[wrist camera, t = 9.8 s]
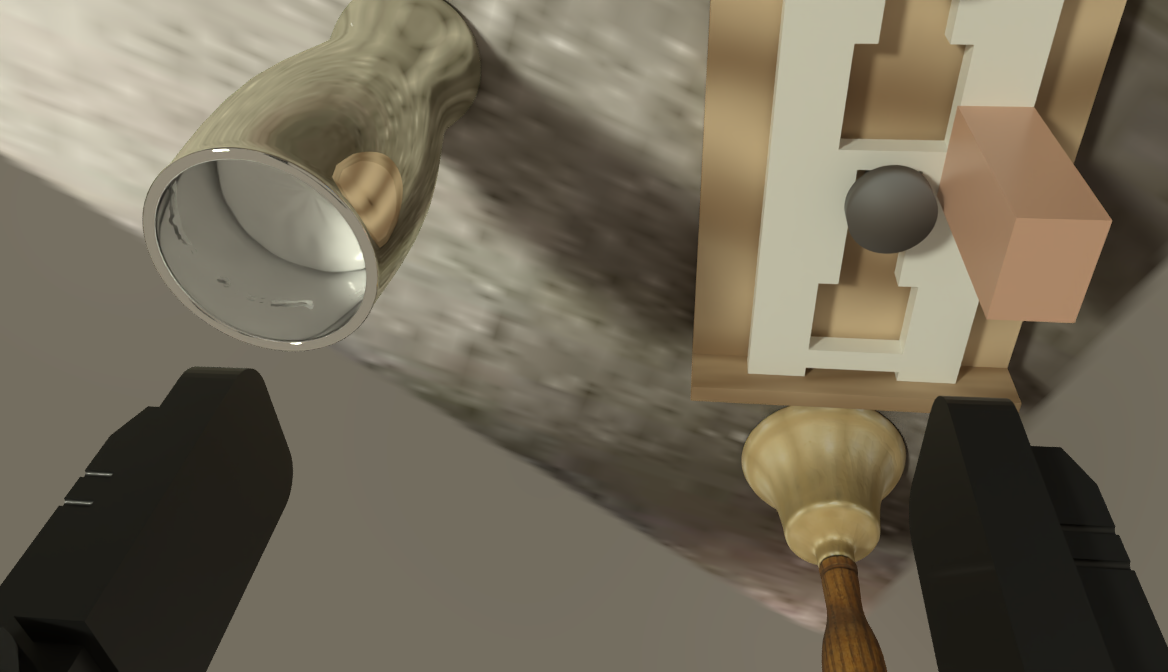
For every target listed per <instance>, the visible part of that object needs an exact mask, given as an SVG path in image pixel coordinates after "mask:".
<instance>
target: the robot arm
mask: <svg viewBox="0 0 1168 672" xmlns="http://www.w3.org/2000/svg"><path fill="white" fill-rule="evenodd" d="M292 466H293V465H292V458H291V454H290V451H289V448H288V445H287V442H286V440H285V437H284V434H283V432H282V429H281V426H280V423H279V421H278V418H277V415H276V413H275V410H274V407H273V404H272V402H271V399H270V396H269V393H268V391H267V388H266V385H265V382H264V380H263V378H262V376H261V375H260V374H259V373H258V372H257V371H256V370H254V369H249V368H221V367H191V368H190V369H188V370H186V371H185V372H184V373H183V374H182V375H181V377H180V378H179V379H178V381H177V382H176V384H175V385H174V387H173V388H172V390H171V391H170V392H169V394H168V395H167V397H166V398H165V400H164V401H163V402H162V404H161V405H160V407H149V406H148V407H147V408H145V409H144V410H143V411H141V412H140V413H139V414H138V415H136V416H135V417H134V418H132V419H131V420H130V421H129V422H127V423H126V424H125V425H123V426H122V427H121V428H120V429H118V430H117V431H116V432H115V433H113V434H112V435H111V436H110V437H109V438H108V440H107V441H106V442H105V444H104V445H103V446H102V448H101V449H100V450H99V452H98V453H97V455H96V456H95V457H94V459H93V460H92V461H91V463H90V464H89V466H88V467H87V468H86V470H85V471H86V474H85V477H80V478H79V479H78V481H77V482H76V483H75V485H74V486H73V487H72V489H71V490H70V491H69V493H68V494H67V495H66V497H65V498H64V499H65V504H64V505H63V506H59V507H58V508H57V509H56V510H55V512H54V513H53V515H52V516H51V517H50V519H49V520H48V522H47V523H46V524H45V525H44V527H43V528H42V530H41V531H40V532H39V534H38V535H37V536H36V538H35V539H34V540H33V542H32V543H31V545H30V546H29V547H28V549H27V550H26V552H25V553H24V554H23V556H22V557H21V558H20V560H19V561H18V562H17V564H16V565H15V566H14V568H13V569H12V571H11V572H10V573H9V575H8V576H7V577H6V579H5V580H4V581H3V583H2V584H1V586H0V672H206V671H207V669H208V666H209V664H210V662H211V660H212V658H213V656H214V654H215V652H216V650H217V648H218V646H219V644H220V642H221V639H222V637H223V635H224V633H225V631H226V629H227V627H228V625H229V623H230V621H231V619H232V616H233V614H234V612H235V610H236V608H237V606H238V604H239V602H240V600H241V598H242V596H243V594H244V591H245V589H246V587H247V585H248V583H249V581H250V579H251V577H252V575H253V573H254V571H255V569H256V566H257V565H258V562H259V560H260V558H261V556H262V554H263V552H264V550H265V548H266V546H267V544H268V542H269V539H270V537H271V535H272V533H273V531H274V529H275V527H276V525H277V523H278V521H279V519H280V516H281V514H282V512H283V510H284V508H285V506H286V504H287V501H288V499H289V495H290V491H291V486H292V478H293V467H292ZM909 525H910V535H911V541H912V546H913V551H914V556H915V561H916V565H917V570H918V575H919V580H920V584H921V589H922V594H923V599H924V603H925V608H926V613H927V618H928V623H929V628H930V632H931V637H932V642H933V647H934V652H935V656H936V660H937V666H938V671H939V672H1168V647H1167V645H1166V642H1165V640H1164V638H1163V635H1162V633H1161V631H1160V628H1159V626H1158V624H1157V621H1156V620H1155V617H1154V615H1153V612H1152V610H1151V608H1150V605H1149V603H1148V601H1147V598H1146V596H1145V594H1144V592H1143V589H1142V587H1141V585H1140V582H1139V580H1138V578H1137V576H1136V573H1135V571H1133V570H1131V569H1130V559H1129V557H1128V555H1127V552H1126V550H1125V548H1124V545H1123V543H1122V541H1121V539H1120V536H1119V535H1116V534H1115V525H1114V523H1113V520H1112V518H1111V516H1110V513H1109V511H1108V509H1107V506H1106V504H1105V502H1104V499H1103V497H1102V495H1101V493H1100V490H1099V488H1098V486H1097V484H1096V483H1095V482H1094V481H1093V480H1092V479H1091V478H1090V477H1089V476H1088V475H1087V474H1086V473H1085V472H1084V471H1083V470H1082V469H1081V468H1080V466H1079V465H1078V464H1077V463H1076V462H1075V461H1074V460H1073V459H1072V458H1071V457H1070V456H1069V455H1068V454H1067V453H1066V452H1065V451H1064V450H1063V449H1062V448H1060V447H1040V446H1030V443H1029V440H1028V438H1027V435H1026V432H1025V430H1024V427H1023V424H1022V422H1021V419H1020V416H1019V414H1018V411H1017V409H1016V406H1015V405H1014V403H1013V402H1012V401H1011V400H1010V399H1008V398H990V397H963V396H938V397H937V398H936V399H935V400H934V402H933V405H932V408H931V412H930V415H929V419H928V423H927V427H926V431H925V435H924V439H923V443H922V447H921V451H920V454H919V458H918V462H917V466H916V470H915V474H914V478H913V482H912V486H911V492H910V501H909Z"/></svg>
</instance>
